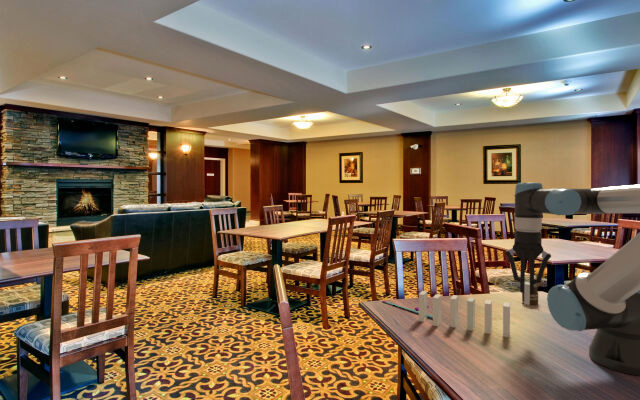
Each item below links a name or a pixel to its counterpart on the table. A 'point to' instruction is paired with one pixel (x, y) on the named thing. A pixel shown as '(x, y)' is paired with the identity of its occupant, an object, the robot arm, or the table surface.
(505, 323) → the domino
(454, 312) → the domino
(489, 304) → the domino
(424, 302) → the domino
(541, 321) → the table surface
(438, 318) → the domino
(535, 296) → the utensil holder
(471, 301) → the domino
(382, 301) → the squeegee
